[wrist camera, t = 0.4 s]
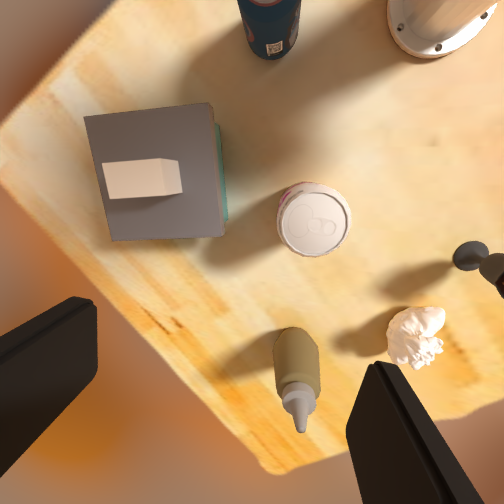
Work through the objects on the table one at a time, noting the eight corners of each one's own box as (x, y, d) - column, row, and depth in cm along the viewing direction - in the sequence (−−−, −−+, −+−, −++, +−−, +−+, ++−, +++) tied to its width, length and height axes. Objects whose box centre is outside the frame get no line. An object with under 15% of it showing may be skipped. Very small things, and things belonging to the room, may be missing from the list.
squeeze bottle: (295, 313, 47) (302, 392, 30) (325, 341, 48) (348, 434, 31) (264, 338, 49) (255, 424, 32) (293, 364, 50) (299, 462, 33)
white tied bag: (418, 289, 45) (409, 293, 36) (465, 319, 41) (466, 332, 32) (377, 338, 49) (359, 352, 40) (415, 370, 45) (405, 394, 36)
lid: (95, 120, 34) (49, 106, 28) (212, 107, 32) (193, 88, 25) (121, 237, 39) (86, 250, 32) (225, 233, 37) (212, 246, 30)
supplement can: (273, 226, 43) (268, 251, 28) (286, 176, 40) (287, 176, 26) (320, 237, 42) (339, 269, 28) (336, 188, 40) (366, 194, 25)
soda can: (244, 10, 35) (224, -72, 23) (295, -3, 34) (301, -95, 22) (251, 68, 36) (236, 19, 25) (300, 58, 35) (308, 2, 24)
